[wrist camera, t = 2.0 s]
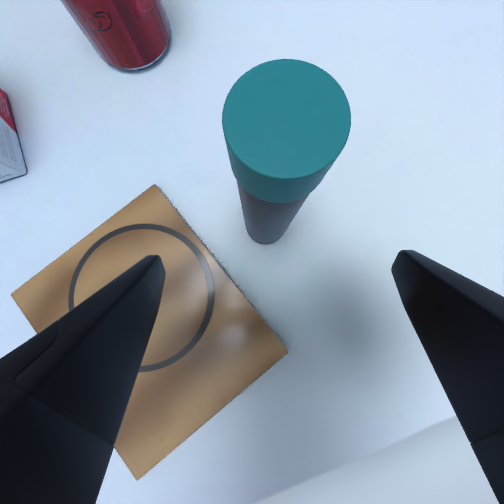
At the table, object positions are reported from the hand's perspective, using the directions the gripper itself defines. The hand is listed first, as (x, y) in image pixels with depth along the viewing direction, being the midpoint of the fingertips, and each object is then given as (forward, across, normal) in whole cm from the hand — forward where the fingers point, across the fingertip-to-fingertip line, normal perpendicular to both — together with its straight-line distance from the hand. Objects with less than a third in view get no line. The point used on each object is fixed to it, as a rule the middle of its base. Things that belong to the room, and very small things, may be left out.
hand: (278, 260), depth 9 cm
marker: (+10, 0, +5) cm, 11 cm away
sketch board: (+5, +10, +11) cm, 15 cm away
